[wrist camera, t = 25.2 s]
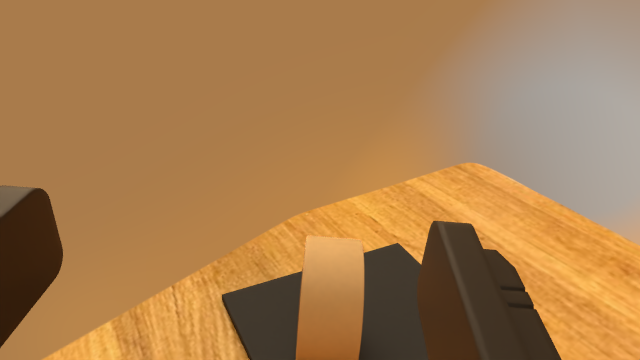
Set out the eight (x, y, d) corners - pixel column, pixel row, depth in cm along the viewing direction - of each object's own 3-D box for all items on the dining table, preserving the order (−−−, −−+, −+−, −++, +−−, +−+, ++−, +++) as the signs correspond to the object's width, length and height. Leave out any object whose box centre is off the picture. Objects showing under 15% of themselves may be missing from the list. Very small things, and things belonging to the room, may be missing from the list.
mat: (221, 299, 42) (221, 294, 42) (397, 246, 51) (398, 242, 51) (341, 559, 26) (342, 554, 25) (571, 415, 34) (574, 410, 34)
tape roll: (291, 388, 29) (304, 231, 31) (296, 355, 39) (306, 237, 41) (359, 394, 29) (369, 236, 31) (348, 359, 39) (355, 241, 41)
